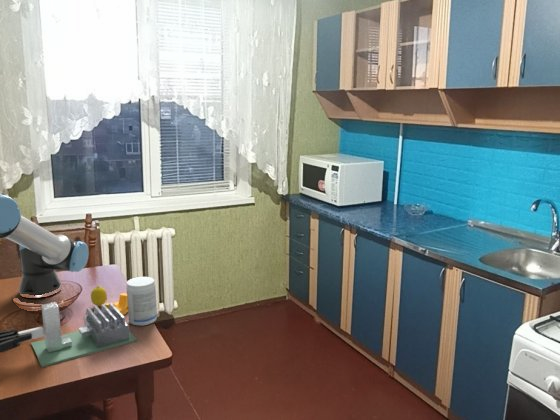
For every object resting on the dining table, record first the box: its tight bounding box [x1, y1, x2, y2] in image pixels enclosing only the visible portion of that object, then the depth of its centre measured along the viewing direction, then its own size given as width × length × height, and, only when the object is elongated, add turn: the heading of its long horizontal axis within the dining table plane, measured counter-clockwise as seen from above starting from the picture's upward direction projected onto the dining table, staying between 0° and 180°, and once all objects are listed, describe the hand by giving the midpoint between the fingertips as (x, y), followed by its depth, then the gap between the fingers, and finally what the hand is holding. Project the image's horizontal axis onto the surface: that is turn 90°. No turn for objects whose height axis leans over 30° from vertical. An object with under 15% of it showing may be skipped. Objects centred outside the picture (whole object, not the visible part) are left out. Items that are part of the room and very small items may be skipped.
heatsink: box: [78, 301, 130, 348], centre depth 157 cm, size 14×13×8 cm
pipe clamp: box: [104, 292, 128, 316], centre depth 173 cm, size 12×4×6 cm, turn 168°
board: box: [30, 330, 138, 368], centre depth 155 cm, size 16×28×1 cm, turn 126°
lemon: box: [90, 285, 108, 308], centre depth 181 cm, size 6×6×8 cm
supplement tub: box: [126, 276, 158, 326], centre depth 170 cm, size 10×10×15 cm
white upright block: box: [40, 301, 72, 353], centre depth 149 cm, size 4×7×14 cm, turn 126°
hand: (42, 331), depth 147 cm, fingers closed
